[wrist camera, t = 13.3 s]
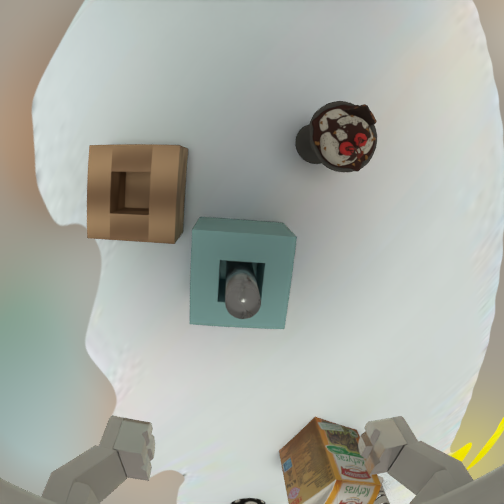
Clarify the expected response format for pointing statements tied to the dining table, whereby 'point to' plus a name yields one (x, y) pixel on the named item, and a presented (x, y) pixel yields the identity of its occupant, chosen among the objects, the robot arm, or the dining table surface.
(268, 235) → the teal storage box
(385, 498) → the french press
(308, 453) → the milk carton
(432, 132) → the dining table surface
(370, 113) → the sundae
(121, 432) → the robot arm
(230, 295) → the peg
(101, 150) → the socket
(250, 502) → the spotted tube
